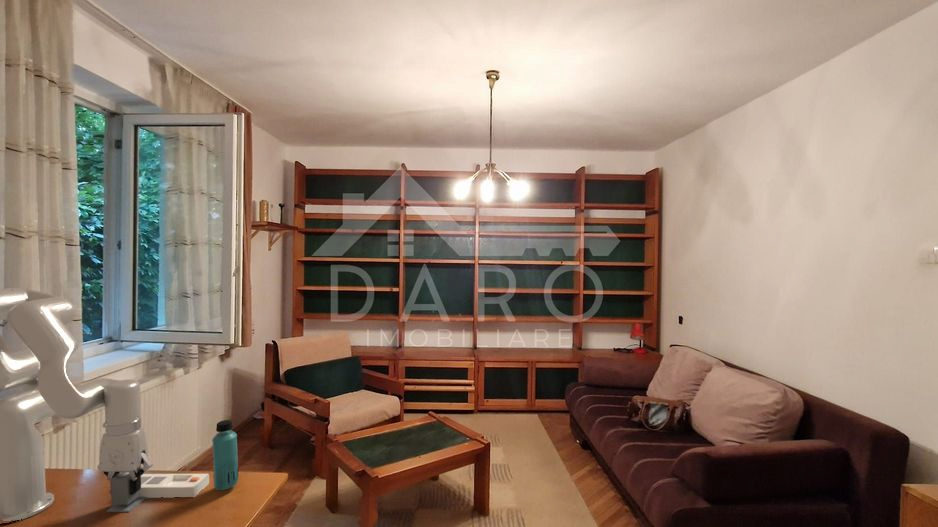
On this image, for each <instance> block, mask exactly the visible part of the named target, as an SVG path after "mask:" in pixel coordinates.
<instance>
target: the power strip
mask: <svg viewBox="0 0 938 527" xmlns="http://www.w3.org/2000/svg"><path fill="white" fill-rule="evenodd" d="M208 485H210V473H143V475H141V489H140V492H141V495H140V496H139V497H146V499H156V498H157V499H161V497H163V499H165V498H166V499H167V498H169V499H172V498H173V499H175V498H174V497H194V498H195V497H197V495H199V494H200V493H201V492H202V491H203V490H204V489H205V488H206V487H207V486H208ZM202 489H203V490H202ZM201 490H202V491H201ZM200 491H201V492H200ZM199 492H200V493H199Z"/></svg>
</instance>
